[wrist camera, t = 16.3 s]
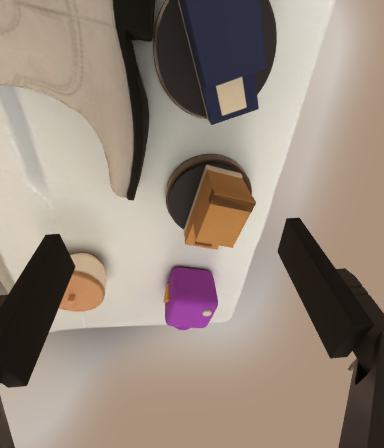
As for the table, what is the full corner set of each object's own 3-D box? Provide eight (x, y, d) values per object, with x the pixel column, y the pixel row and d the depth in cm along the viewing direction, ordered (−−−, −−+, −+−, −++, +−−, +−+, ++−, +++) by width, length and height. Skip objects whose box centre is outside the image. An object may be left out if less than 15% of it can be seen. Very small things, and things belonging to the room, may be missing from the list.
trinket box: (84, 286, 53) (70, 326, 46) (44, 258, 47) (21, 298, 40) (122, 267, 51) (114, 306, 43) (85, 235, 45) (68, 273, 37)
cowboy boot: (166, -98, 17) (-292, -262, 13) (137, 220, 31) (-88, 194, 27) (166, -44, 25) (-117, -134, 21) (143, 191, 39) (-30, 166, 35)
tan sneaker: (180, 152, 34) (183, 180, 27) (263, 173, 37) (286, 204, 30) (160, 225, 42) (159, 262, 35) (231, 238, 45) (243, 274, 38)
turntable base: (162, 155, 37) (162, 160, 35) (254, 152, 38) (258, 157, 36) (168, 228, 45) (168, 235, 44) (243, 224, 46) (245, 231, 45)
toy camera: (164, 302, 59) (163, 342, 51) (164, 264, 51) (163, 304, 43) (206, 301, 60) (212, 340, 52) (213, 263, 52) (221, 303, 44)
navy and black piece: (136, 0, 24) (123, -19, 17) (267, -56, 23) (313, -101, 16) (179, 130, 32) (182, 154, 25) (278, 96, 31) (311, 111, 24)
